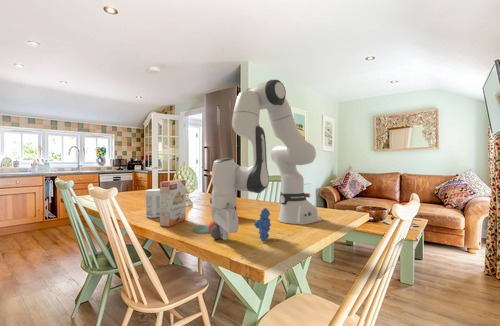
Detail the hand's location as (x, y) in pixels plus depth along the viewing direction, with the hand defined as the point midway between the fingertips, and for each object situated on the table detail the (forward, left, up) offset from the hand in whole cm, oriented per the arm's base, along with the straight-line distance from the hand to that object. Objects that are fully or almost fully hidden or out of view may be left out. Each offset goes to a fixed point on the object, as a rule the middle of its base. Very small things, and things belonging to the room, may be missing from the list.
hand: (224, 238), depth 93 cm
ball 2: (+1, -6, +1) cm, 6 cm away
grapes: (-15, +3, -2) cm, 15 cm away
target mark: (0, -21, -2) cm, 21 cm away
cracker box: (+13, -38, -2) cm, 40 cm away
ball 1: (0, -12, +1) cm, 12 cm away
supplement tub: (+20, -58, -2) cm, 61 cm away
